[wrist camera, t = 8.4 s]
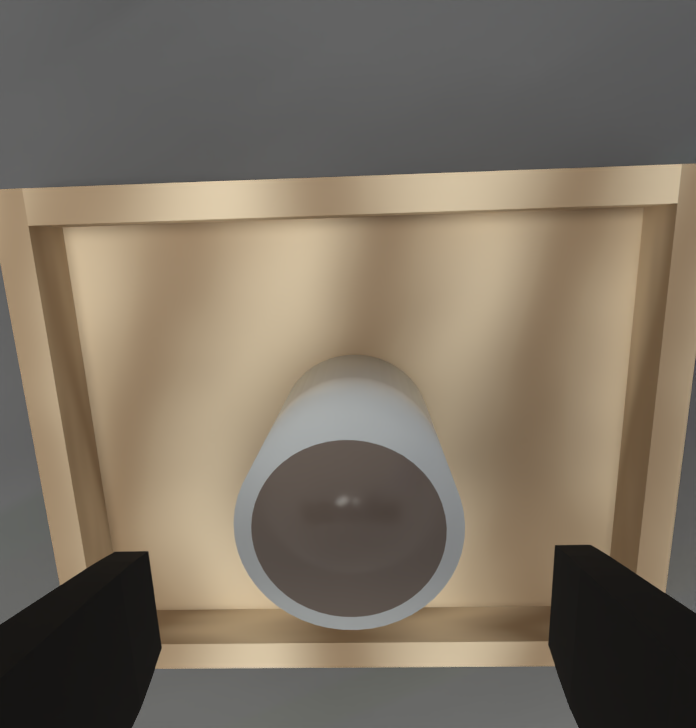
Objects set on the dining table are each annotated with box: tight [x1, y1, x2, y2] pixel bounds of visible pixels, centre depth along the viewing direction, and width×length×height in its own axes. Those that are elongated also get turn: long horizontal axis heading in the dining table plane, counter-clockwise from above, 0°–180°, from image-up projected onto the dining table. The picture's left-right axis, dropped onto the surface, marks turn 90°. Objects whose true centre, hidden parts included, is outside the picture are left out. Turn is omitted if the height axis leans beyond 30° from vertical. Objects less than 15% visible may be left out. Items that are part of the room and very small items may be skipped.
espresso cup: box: [234, 355, 465, 630], centre depth 14 cm, size 5×6×7 cm
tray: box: [0, 164, 696, 669], centre depth 17 cm, size 20×16×2 cm
